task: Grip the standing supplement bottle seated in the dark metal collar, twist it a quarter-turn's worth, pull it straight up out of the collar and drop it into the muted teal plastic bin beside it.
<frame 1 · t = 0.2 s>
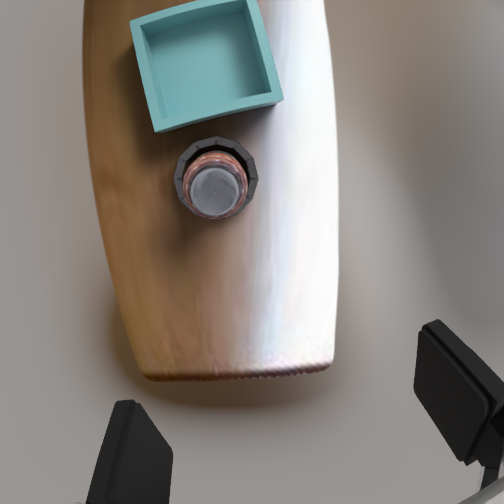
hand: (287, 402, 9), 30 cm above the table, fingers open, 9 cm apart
supplement bottle: (216, 175, 36), resting in collar
collar: (216, 175, 36), on the table
bin: (206, 65, 31), on the table
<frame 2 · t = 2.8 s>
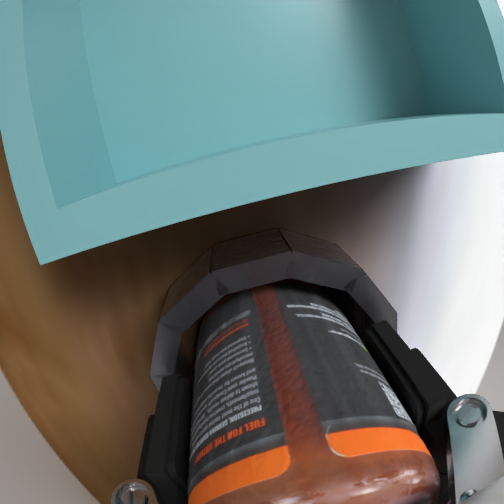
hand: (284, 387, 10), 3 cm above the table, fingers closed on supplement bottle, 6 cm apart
supplement bottle: (270, 333, 13), resting in collar, touching gripper
collar: (271, 336, 13), on the table
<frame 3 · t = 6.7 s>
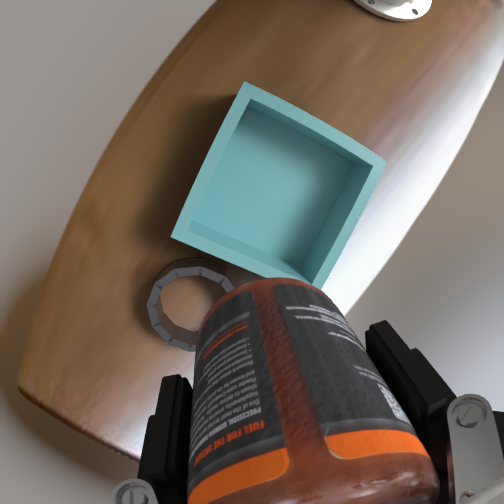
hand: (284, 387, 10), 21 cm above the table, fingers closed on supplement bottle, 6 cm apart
supplement bottle: (270, 334, 13), point 17 cm above the table, touching gripper
collar: (196, 300, 31), on the table
bin: (273, 188, 29), on the table
when the fingers open (6 cm above the table, at t = 10.5 s): supplement bottle drops 2 cm, resting on bin.
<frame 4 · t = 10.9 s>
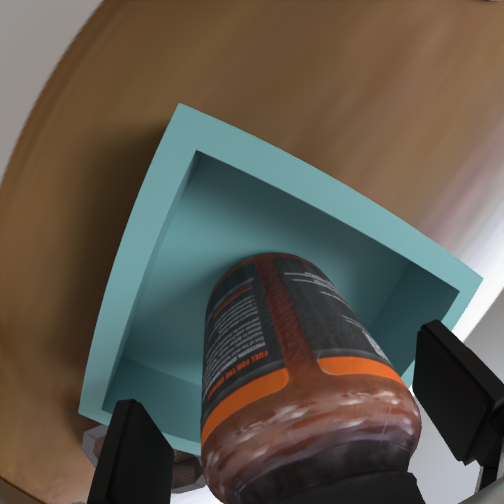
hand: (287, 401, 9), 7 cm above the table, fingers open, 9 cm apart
supplement bottle: (270, 307, 15), point 1 cm above the table, touching bin
collar: (151, 437, 19), on the table
bin: (263, 302, 16), on the table
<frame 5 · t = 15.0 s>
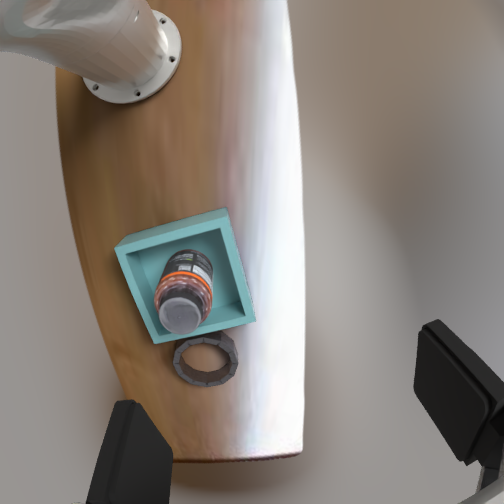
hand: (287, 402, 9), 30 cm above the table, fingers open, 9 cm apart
supplement bottle: (190, 269, 39), point 1 cm above the table, touching bin
collar: (205, 353, 44), on the table
bin: (190, 269, 40), on the table
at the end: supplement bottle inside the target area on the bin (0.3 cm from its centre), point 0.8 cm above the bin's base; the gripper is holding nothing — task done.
